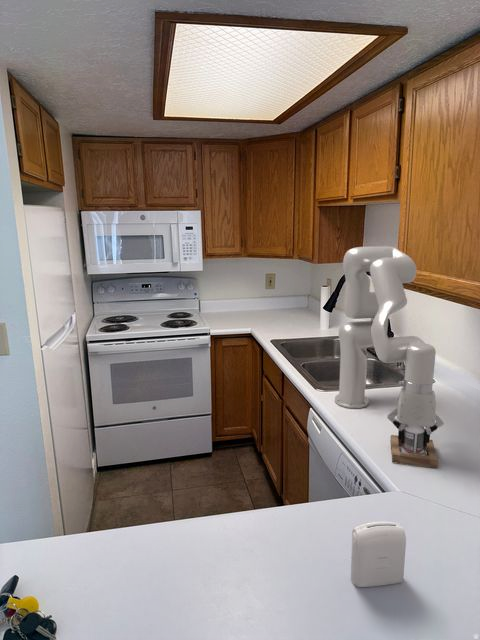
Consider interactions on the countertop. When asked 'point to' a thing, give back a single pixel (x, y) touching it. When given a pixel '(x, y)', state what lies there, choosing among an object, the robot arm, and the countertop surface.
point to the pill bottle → (413, 439)
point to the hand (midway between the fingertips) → (413, 442)
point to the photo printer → (378, 554)
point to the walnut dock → (414, 459)
